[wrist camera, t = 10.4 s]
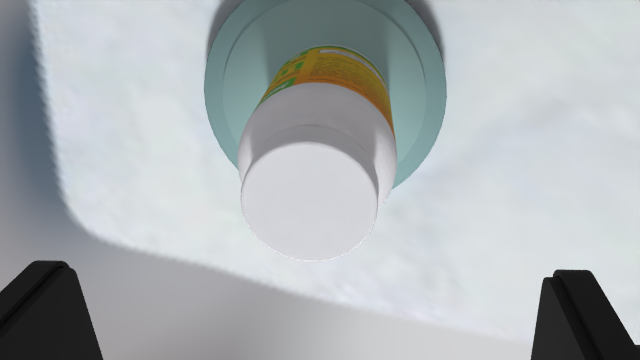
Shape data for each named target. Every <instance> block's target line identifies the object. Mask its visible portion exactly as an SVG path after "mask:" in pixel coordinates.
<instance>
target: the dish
mask: <svg viewBox="0 0 640 360" xmlns="http://www.w3.org/2000/svg"><path fill="white" fill-rule="evenodd" d="M324 44H330V45H340V46H345V47H348V48H351V49H354V50H356V51H358V52H359V53H361V54H363V55H364V56H366V57H367V58H368V59H369V60H370V61H371V62H372V63H373V64H374V65H375V66H376V67H377V68H378V69H379V71H380V72H381V74H382V76H383V77H384V80H385V82H386V84H387V88H388V91H389V96H390V102H391V112H392V120H393V127H394V134H395V139H396V149H397V170H396V176H395V180H394V183H393V187H392V189H393V188H395V187H396V186H398V185H399V184H400V183H402V182H403V181H404V180H405V179H407V178H408V177H409V176H410V175H411V174H412V173H413V172H414V171H415V170H416V169H417V168H418V167H419V166H420V164H421V163H422V162H423V160H424V159H425V158H426V157H427V155H428V154H429V152H430V150H431V148H432V147H433V145H434V143H435V141H436V139H437V136H438V134H439V131H440V129H441V125H442V122H443V118H444V114H445V106H446V98H447V95H446V77H445V71H444V65H443V62H442V59H441V55H440V52H439V49H438V47H437V45H436V43H435V41H434V39H433V37H432V35H431V33H430V31H429V30H428V28H427V27H426V25H425V23H424V22H423V20H422V19H421V17H420V16H419V15H418V14H417V13H416V12H415V10H414V9H413V8H412V7H411V6H410V5H409V4H408V3H407V2H406V1H405V0H244V1H243V2H242V3H241V4H240V5H239V6H238V7H237V8H236V9H235V10H234V11H233V12H232V13H231V14H230V16H229V17H228V18H227V19H226V21H225V22H224V24H223V25H222V27H221V28H220V30H219V32H218V34H217V36H216V38H215V40H214V42H213V44H212V47H211V50H210V53H209V56H208V59H207V65H206V71H205V81H204V94H205V105H206V110H207V114H208V119H209V122H210V124H211V127H212V130H213V133H214V135H215V137H216V139H217V141H218V143H219V145H220V147H221V148H222V150H223V151H224V153H225V154H226V156H227V157H228V159H229V160H230V161H231V162H232V163H233V164H234V166H235V167H236V168H237V169H238V159H237V154H238V147H239V142H240V138H241V135H242V132H243V130H244V128H245V125H246V123H247V121H248V120H249V118H250V116H251V115H252V113H253V111H254V110H255V108H256V107H257V105H258V103H259V102H260V100H261V99H262V97H263V95H264V94H265V92H266V90H267V89H268V87H269V85H270V84H271V82H272V80H273V79H274V77H275V75H276V74H277V72H278V71H279V69H280V68H281V67H282V66H283V65H284V63H285V62H286V61H287V60H289V59H290V58H291V57H292V56H294V55H295V54H296V53H298V52H300V51H302V50H304V49H306V48H309V47H313V46H317V45H324ZM392 189H391V190H392Z"/></svg>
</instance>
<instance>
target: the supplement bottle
mask: <svg viewBox="0 0 640 360" xmlns="http://www.w3.org/2000/svg"><path fill="white" fill-rule="evenodd" d="M237 159H238V170H239V175H240V179H241V182H242V188H241V206H242V211H243V214H244V217H245V220H246V222H247V224H248V226H249V228H250V229H251V231H252V232H253V233H254V235H255V236H256V237H257V238H258V239H259V240H260V241H261V242H262V243H263V244H264V245H265V246H267V247H268V248H270V249H271V250H272V251H274V252H276V253H278V254H280V255H282V256H284V257H287V258H290V259H294V260H299V261H306V262H319V261H327V260H331V259H335V258H338V257H341V256H343V255H345V254H347V253H349V252H350V251H352V250H353V249H355V248H356V247H357V246H358V245H360V244H361V243H362V242H363V241H364V239H365V238H366V237H367V236H368V234H369V233H370V231H371V229H372V228H373V225H374V223H375V220H376V217H377V212H378V209H379V208H380V207H381V206H382V205H383V203H384V202H385V200H386V199H387V197H388V195H389V193H390V191H391V189H392V187H393V183H394V180H395V176H396V170H397V149H396V139H395V134H394V127H393V120H392V112H391V102H390V96H389V91H388V88H387V84H386V82H385V80H384V77H383V76H382V74H381V72H380V71H379V69H378V68H377V67H376V66H375V65H374V64H373V63H372V62H371V61H370V60H369V59H368V58H367V57H366V56H364V55H363V54H361V53H359V52H358V51H356V50H354V49H351V48H348V47H345V46H340V45H330V44H324V45H317V46H313V47H309V48H306V49H304V50H302V51H300V52H298V53H296V54H295V55H294V56H292V57H291V58H290V59H289V60H287V61H286V62H285V63H284V65H283V66H282V67H281V68H280V69H279V71H278V72H277V74H276V75H275V77H274V79H273V80H272V82H271V84H270V85H269V87H268V89H267V90H266V92H265V94H264V95H263V97H262V99H261V100H260V102H259V103H258V105H257V107H256V108H255V110H254V111H253V113H252V115H251V116H250V118H249V120H248V121H247V123H246V125H245V128H244V130H243V132H242V135H241V138H240V142H239V147H238V154H237Z"/></svg>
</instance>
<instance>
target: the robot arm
mask: <svg viewBox="0 0 640 360" xmlns="http://www.w3.org/2000/svg"><path fill="white" fill-rule="evenodd" d="M0 360H103V357H102V354H101V351H100V348H99V344H98V341H97V338H96V335H95V332H94V328H93V325H92V322H91V319H90V315H89V312H88V309H87V306H86V302H85V299H84V296H83V293H82V290H81V286H80V283H79V280H78V277H77V274H76V272H75V270H73V269H72V268H70V267H69V265H68V264H67V263H66V262H63V261H39V260H38V261H34V262H32V263H31V264H30V265H28V267H26V268H25V269H24V270H23V271H22V272H21V273H20V274H19V275H18V276H17V277H16V278H15V279H14V280H13V281H12V282H11V283H9V284H8V286H6V287H5V288H4V289H3V290H2V291H1V292H0ZM531 360H640V345H635V344H634V343H633V341H632V339H631V338H630V336H629V334H628V333H627V331H626V329H625V327H624V326H623V324H622V322H621V321H620V319H619V317H618V316H617V314H616V312H615V311H614V309H613V307H612V306H611V304H610V302H609V301H608V299H607V297H606V295H605V294H604V292H603V290H602V289H601V287H600V285H599V284H598V282H597V280H596V279H595V277H594V275H593V274H592V273H591V271H588V270H556V271H555V272H554V274H553V277H545V278H544V280H543V283H542V289H541V295H540V302H539V309H538V315H537V322H536V328H535V335H534V342H533V348H532V355H531Z"/></svg>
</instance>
